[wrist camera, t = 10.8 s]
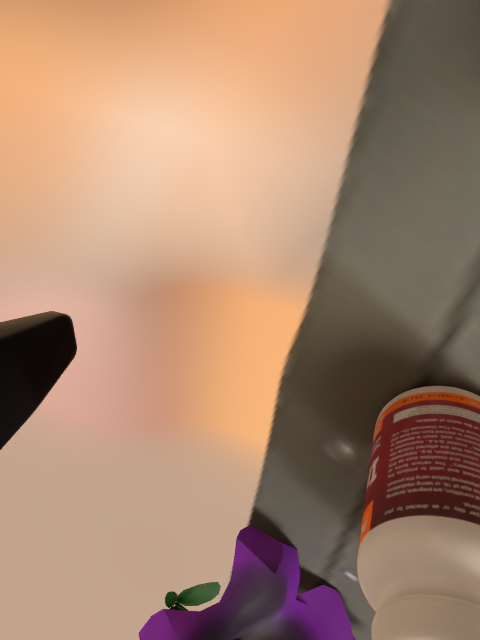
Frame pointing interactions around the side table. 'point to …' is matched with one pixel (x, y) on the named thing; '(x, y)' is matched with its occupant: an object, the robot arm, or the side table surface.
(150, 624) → the flower
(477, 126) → the side table surface
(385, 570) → the pill bottle
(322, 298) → the side table surface
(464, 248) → the side table surface
